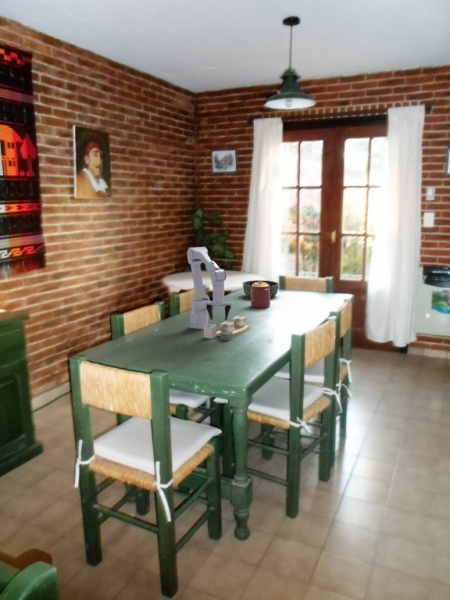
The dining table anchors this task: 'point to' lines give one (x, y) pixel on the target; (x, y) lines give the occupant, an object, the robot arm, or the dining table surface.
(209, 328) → the block
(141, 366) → the dining table surface
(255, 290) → the canister
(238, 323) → the board
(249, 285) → the bundt pan
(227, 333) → the box
